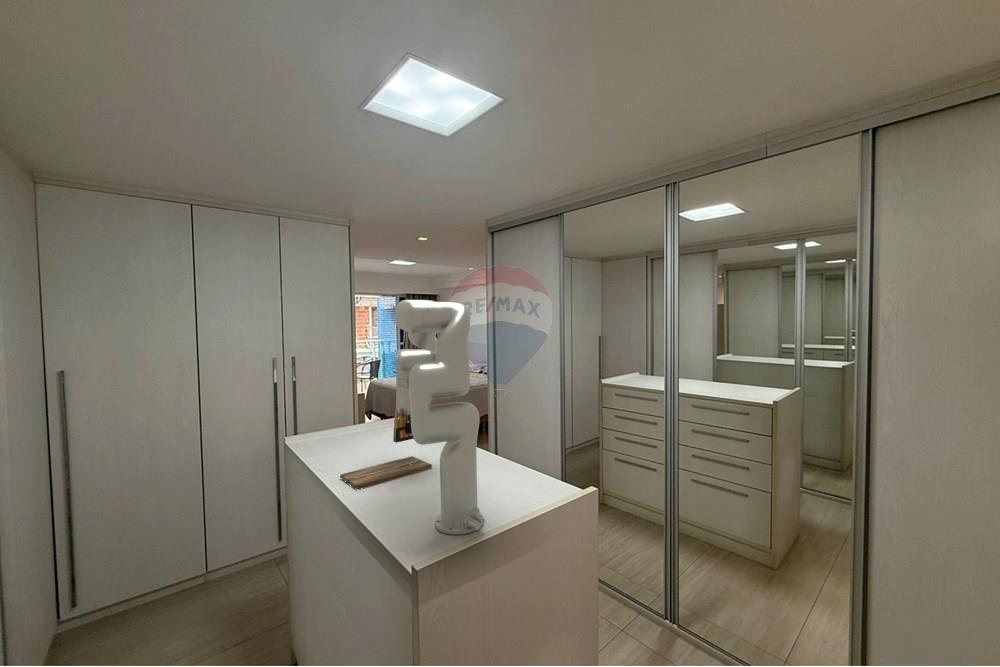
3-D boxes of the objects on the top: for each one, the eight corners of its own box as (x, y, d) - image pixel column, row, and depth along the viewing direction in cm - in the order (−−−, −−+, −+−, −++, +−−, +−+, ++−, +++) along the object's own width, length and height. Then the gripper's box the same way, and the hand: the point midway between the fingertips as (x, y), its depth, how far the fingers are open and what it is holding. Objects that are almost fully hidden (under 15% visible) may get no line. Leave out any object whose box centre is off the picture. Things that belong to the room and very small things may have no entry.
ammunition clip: (395, 442, 146) (395, 409, 146) (393, 441, 148) (392, 408, 147) (421, 436, 153) (421, 405, 153) (419, 435, 155) (418, 404, 155)
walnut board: (431, 468, 149) (431, 464, 149) (357, 490, 130) (357, 485, 130) (412, 459, 159) (412, 455, 159) (340, 478, 141) (340, 474, 141)
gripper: (427, 383, 147) (428, 434, 147) (405, 379, 159) (406, 427, 159) (408, 386, 142) (409, 438, 142) (387, 382, 153) (388, 430, 154)
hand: (407, 432), depth 151 cm, fingers closed on ammunition clip, 2 cm apart
